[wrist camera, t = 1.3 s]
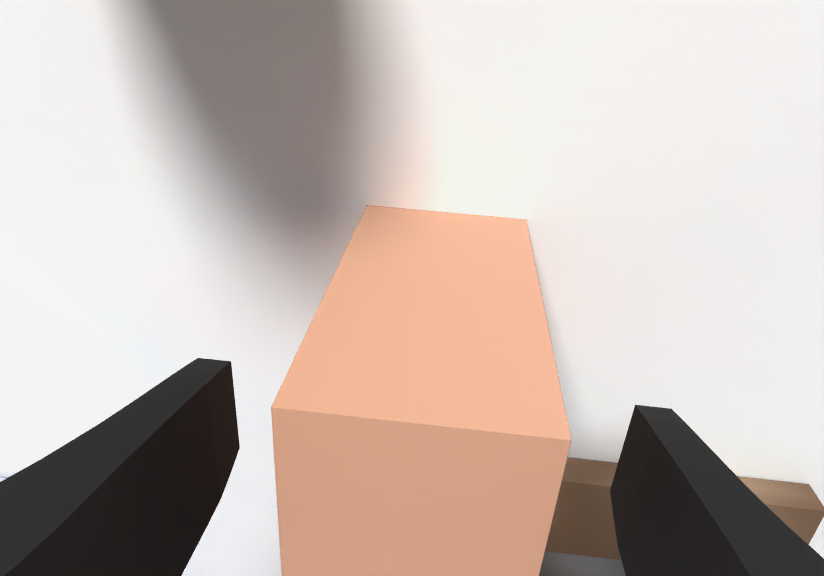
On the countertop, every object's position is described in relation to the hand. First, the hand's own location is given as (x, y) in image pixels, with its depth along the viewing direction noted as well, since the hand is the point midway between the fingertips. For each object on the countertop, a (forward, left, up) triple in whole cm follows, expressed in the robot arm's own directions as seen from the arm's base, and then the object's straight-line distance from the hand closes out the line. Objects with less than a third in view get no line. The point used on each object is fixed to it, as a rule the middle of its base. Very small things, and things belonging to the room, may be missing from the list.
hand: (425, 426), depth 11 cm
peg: (0, 0, -6) cm, 6 cm away
